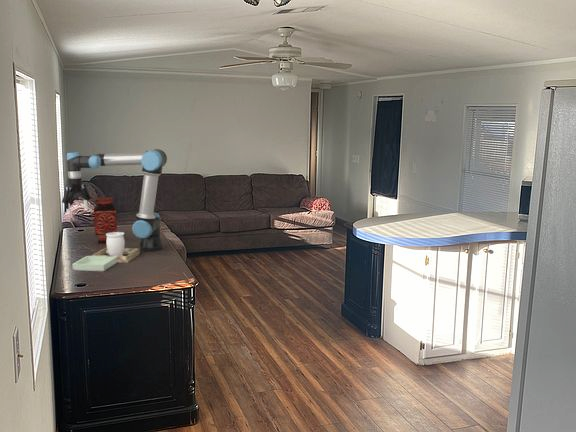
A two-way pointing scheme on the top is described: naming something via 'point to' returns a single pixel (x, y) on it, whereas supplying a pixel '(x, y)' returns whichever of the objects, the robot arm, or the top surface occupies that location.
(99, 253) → the bin
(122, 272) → the top surface
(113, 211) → the vase
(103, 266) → the bin
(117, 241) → the jar
